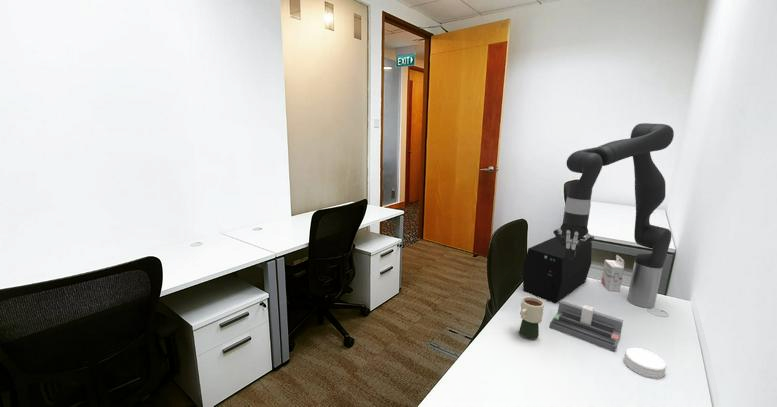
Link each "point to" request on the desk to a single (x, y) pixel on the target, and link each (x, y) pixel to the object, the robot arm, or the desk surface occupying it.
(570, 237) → the robot arm
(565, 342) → the desk surface
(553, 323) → the grey slider panel
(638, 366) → the white round disc
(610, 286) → the ink cartridge box
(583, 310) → the handle
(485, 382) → the desk surface
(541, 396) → the desk surface
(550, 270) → the uninterruptible power supply
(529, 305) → the character mug
